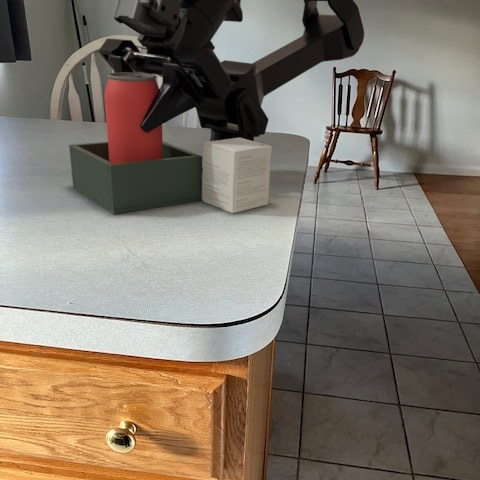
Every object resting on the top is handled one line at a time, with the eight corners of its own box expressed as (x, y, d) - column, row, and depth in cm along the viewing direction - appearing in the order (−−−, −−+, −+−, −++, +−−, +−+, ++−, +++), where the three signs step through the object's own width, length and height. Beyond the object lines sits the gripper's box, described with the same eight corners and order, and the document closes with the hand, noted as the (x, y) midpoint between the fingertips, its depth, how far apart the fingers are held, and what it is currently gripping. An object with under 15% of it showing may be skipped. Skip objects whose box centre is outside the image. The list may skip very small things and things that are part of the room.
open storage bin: (201, 200, 68) (202, 156, 66) (113, 214, 62) (110, 165, 59) (155, 178, 77) (154, 137, 74) (73, 188, 70) (68, 144, 67)
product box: (237, 194, 72) (240, 136, 68) (269, 205, 68) (274, 145, 64) (200, 201, 68) (201, 141, 64) (232, 214, 64) (235, 150, 61)
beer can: (172, 175, 70) (170, 74, 64) (149, 188, 65) (145, 79, 59) (126, 169, 72) (120, 70, 66) (100, 181, 66) (91, 75, 60)
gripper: (106, -38, 65) (33, 66, 63) (215, -41, 54) (131, 84, 52) (159, 36, 74) (97, 129, 72) (262, 46, 63) (192, 156, 61)
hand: (125, 125), depth 64 cm, fingers closed on beer can, 6 cm apart
